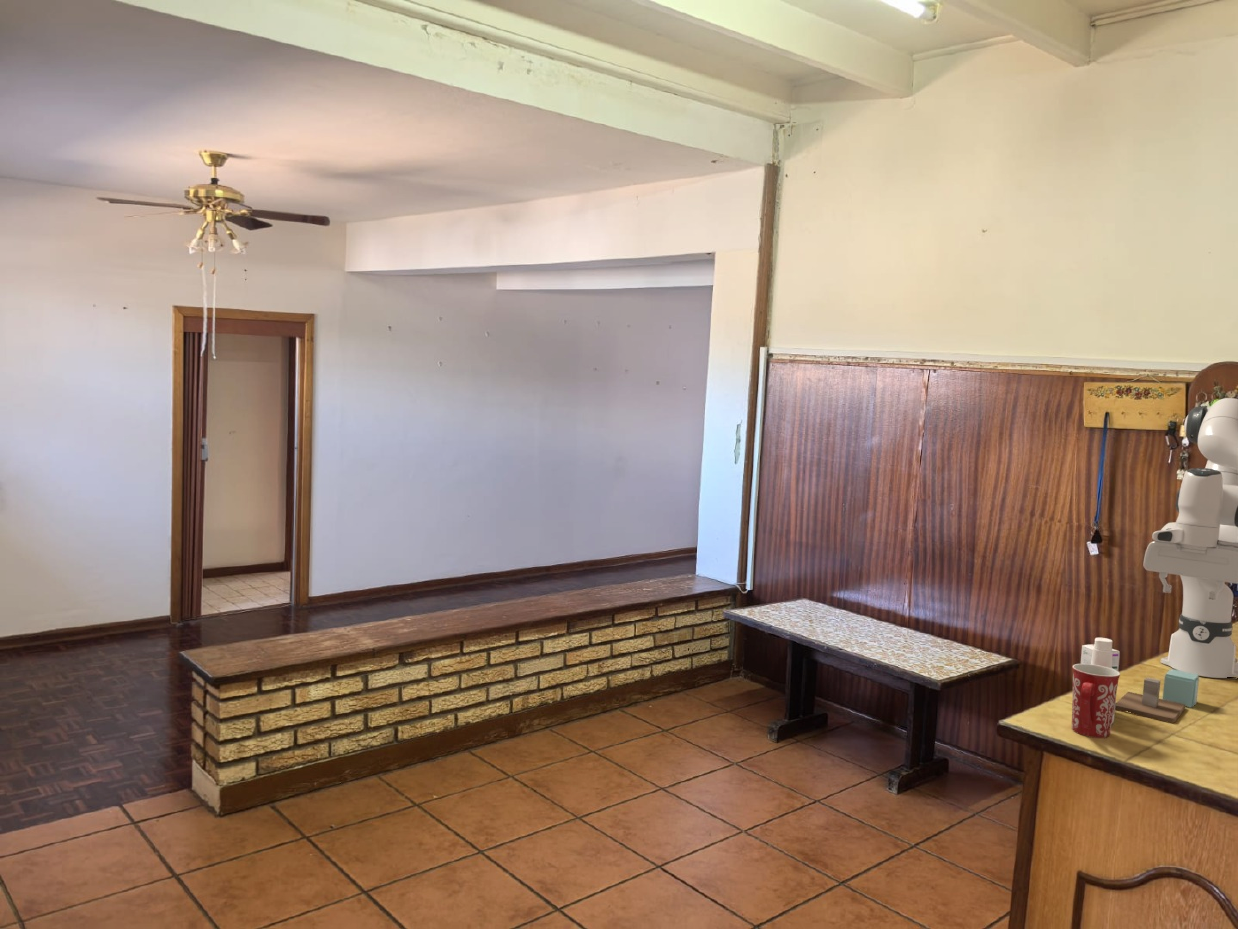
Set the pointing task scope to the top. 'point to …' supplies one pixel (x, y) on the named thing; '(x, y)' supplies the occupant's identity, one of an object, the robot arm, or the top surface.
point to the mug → (1093, 699)
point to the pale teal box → (1181, 687)
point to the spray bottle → (1103, 656)
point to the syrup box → (1087, 656)
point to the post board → (1150, 712)
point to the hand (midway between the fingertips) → (1189, 596)
